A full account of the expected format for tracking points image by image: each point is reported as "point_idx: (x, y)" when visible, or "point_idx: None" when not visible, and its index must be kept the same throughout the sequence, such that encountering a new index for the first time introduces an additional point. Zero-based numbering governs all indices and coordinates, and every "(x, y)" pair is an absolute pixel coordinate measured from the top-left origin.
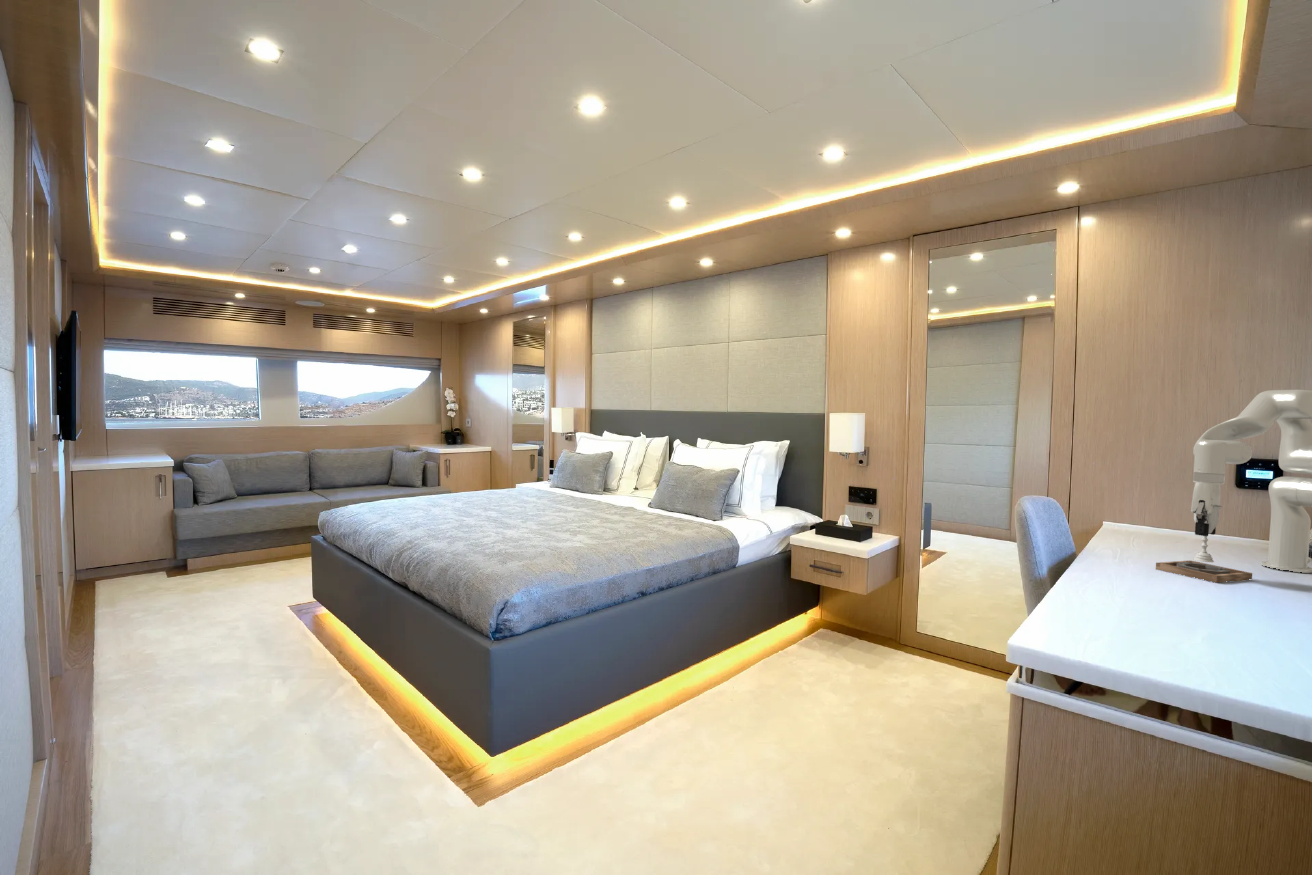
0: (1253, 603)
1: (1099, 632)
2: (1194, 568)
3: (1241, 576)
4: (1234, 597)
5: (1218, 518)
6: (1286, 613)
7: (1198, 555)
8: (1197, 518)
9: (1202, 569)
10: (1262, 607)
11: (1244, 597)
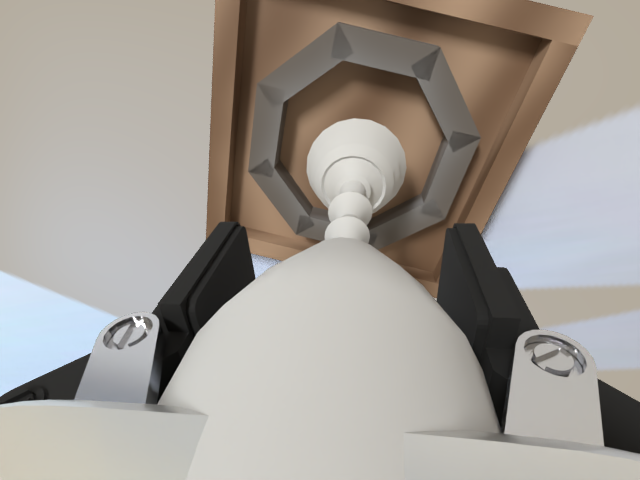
0: (55, 335)
1: None
2: (252, 148)
3: None
4: (63, 300)
5: None
6: None
7: (320, 162)
8: (33, 386)
9: (268, 177)
10: (40, 350)
11: (97, 314)
